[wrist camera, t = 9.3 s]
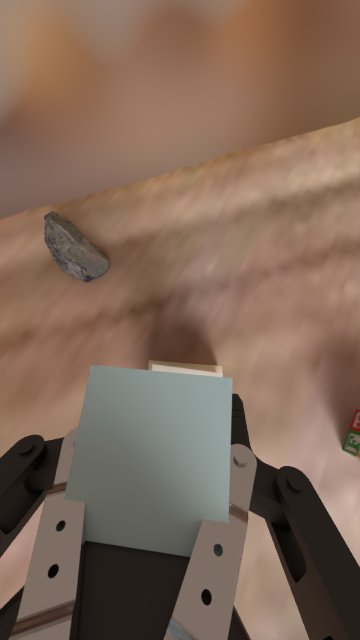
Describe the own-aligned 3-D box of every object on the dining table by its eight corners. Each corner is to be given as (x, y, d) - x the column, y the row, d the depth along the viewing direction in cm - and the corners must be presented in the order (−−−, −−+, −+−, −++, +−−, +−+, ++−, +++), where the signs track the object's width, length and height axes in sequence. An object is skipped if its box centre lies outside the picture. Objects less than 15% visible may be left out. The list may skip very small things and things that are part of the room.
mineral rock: (54, 230, 44) (15, 186, 34) (107, 220, 44) (84, 174, 34) (54, 289, 40) (10, 259, 31) (113, 279, 40) (88, 245, 31)
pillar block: (206, 457, 16) (227, 563, 6) (136, 448, 16) (56, 535, 7) (210, 383, 17) (232, 378, 8) (146, 377, 18) (91, 364, 8)
